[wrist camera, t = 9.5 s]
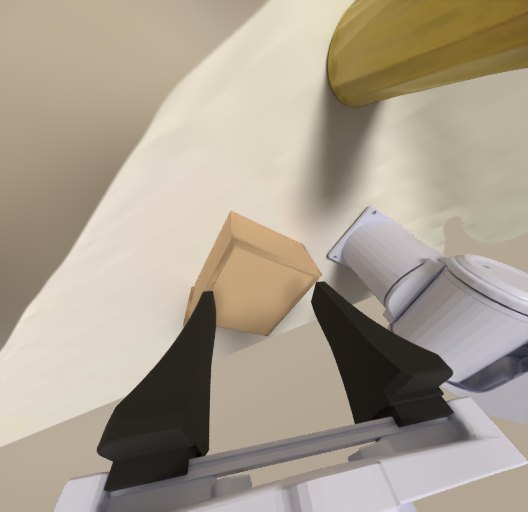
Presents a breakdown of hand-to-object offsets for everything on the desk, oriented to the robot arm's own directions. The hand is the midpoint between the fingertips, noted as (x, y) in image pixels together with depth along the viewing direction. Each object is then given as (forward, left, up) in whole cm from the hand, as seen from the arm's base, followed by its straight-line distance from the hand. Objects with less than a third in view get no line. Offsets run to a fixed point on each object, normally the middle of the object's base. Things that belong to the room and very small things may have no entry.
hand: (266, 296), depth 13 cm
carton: (-2, +5, -10) cm, 12 cm away
